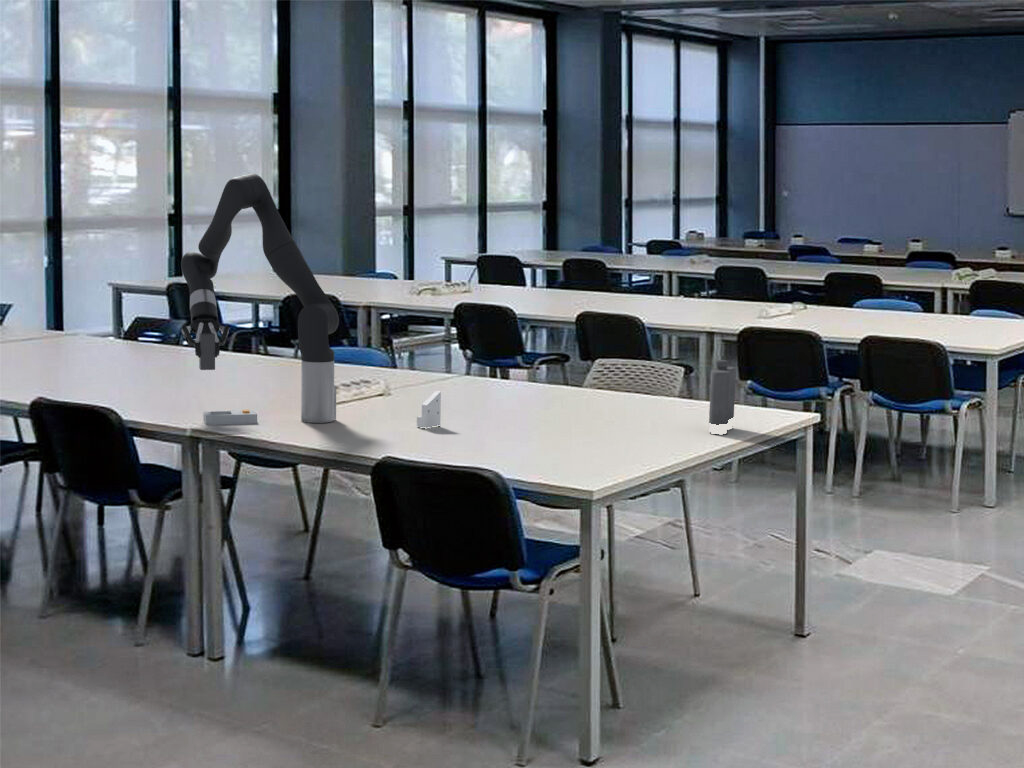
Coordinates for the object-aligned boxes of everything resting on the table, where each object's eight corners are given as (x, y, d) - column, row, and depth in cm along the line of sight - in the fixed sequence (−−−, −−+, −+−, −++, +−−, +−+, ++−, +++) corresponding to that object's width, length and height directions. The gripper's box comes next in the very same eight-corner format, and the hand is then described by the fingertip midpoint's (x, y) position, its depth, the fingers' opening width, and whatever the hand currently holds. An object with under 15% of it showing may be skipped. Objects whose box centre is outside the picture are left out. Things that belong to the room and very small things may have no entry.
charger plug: (213, 367, 432) (213, 333, 431) (215, 369, 429) (215, 334, 427) (199, 368, 431) (199, 333, 430) (200, 369, 428) (200, 334, 426)
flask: (714, 426, 436) (717, 357, 433) (734, 427, 434) (737, 358, 432) (704, 434, 422) (707, 363, 419) (725, 435, 420) (728, 364, 418)
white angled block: (450, 416, 427) (440, 391, 423) (429, 437, 421) (419, 412, 417) (441, 414, 430) (431, 390, 425) (420, 436, 424) (409, 411, 419)
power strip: (253, 420, 427) (253, 408, 427) (257, 424, 420) (257, 412, 420) (203, 422, 423) (203, 409, 422) (205, 426, 416) (205, 413, 416)
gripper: (179, 300, 432) (183, 347, 423) (229, 300, 436) (234, 347, 427) (177, 317, 438) (181, 364, 428) (227, 316, 442) (232, 363, 432)
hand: (207, 355), depth 428 cm, fingers closed on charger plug, 4 cm apart
